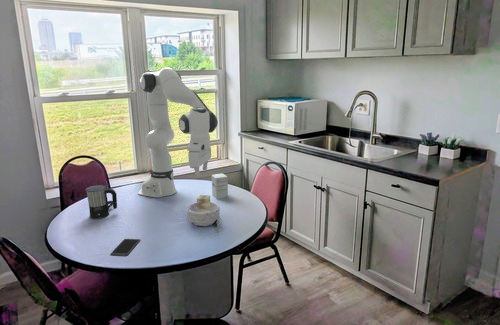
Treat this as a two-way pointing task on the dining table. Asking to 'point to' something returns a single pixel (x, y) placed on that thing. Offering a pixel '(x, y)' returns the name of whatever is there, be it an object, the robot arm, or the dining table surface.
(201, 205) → the maple block
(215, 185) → the supplement box
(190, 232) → the dining table surface
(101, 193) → the milk frother
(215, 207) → the paper bowls
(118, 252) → the cell phone
